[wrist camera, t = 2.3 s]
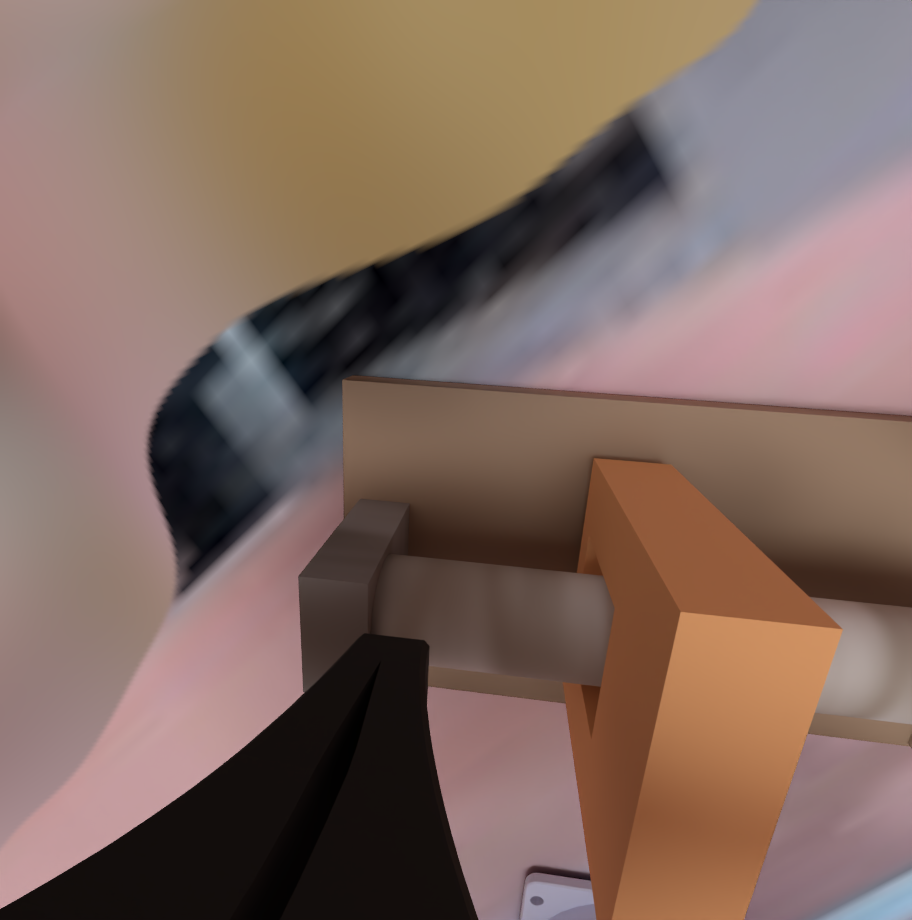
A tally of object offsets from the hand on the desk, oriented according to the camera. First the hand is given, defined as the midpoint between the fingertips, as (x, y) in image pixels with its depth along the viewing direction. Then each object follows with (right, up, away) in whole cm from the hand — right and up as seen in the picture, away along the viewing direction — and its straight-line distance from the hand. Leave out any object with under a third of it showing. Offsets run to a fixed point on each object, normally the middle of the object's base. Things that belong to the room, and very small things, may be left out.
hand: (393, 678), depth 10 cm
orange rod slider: (+6, +1, +4) cm, 7 cm away
